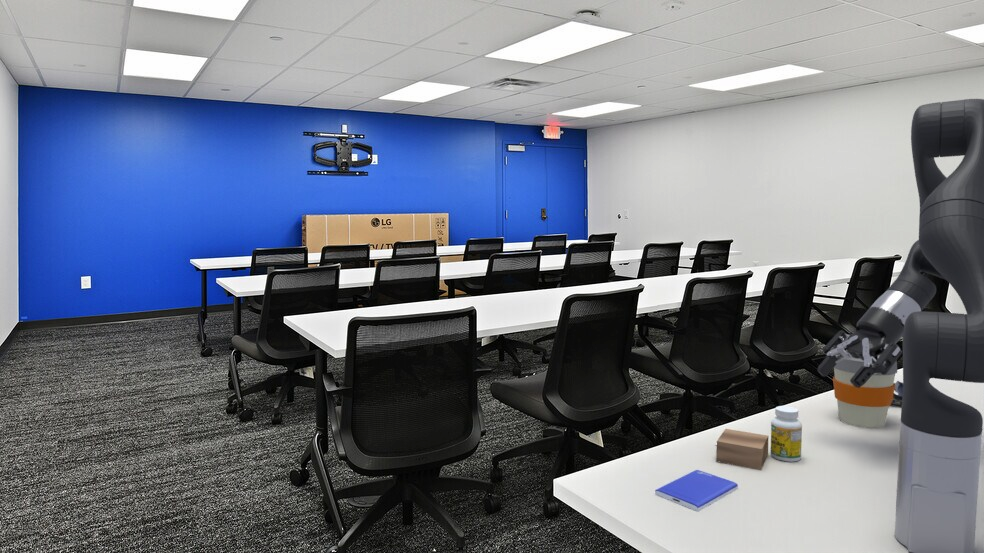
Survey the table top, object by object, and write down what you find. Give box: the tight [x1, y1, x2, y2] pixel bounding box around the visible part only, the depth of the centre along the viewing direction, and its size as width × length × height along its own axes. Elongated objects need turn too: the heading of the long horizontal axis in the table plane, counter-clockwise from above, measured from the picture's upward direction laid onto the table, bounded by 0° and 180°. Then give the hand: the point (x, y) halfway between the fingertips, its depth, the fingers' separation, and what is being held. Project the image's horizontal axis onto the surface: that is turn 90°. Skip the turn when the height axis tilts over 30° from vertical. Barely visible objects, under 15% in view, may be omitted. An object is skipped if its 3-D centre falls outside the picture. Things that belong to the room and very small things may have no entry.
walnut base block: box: [715, 428, 769, 471], centre depth 119 cm, size 8×8×4 cm
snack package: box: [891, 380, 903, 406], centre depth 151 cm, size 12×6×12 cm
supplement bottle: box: [770, 405, 803, 463], centre depth 119 cm, size 5×5×10 cm
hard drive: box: [654, 469, 739, 512], centre depth 105 cm, size 2×8×12 cm
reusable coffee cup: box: [832, 350, 898, 429], centre depth 139 cm, size 12×12×15 cm
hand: (836, 379), depth 121 cm, fingers open, 8 cm apart
